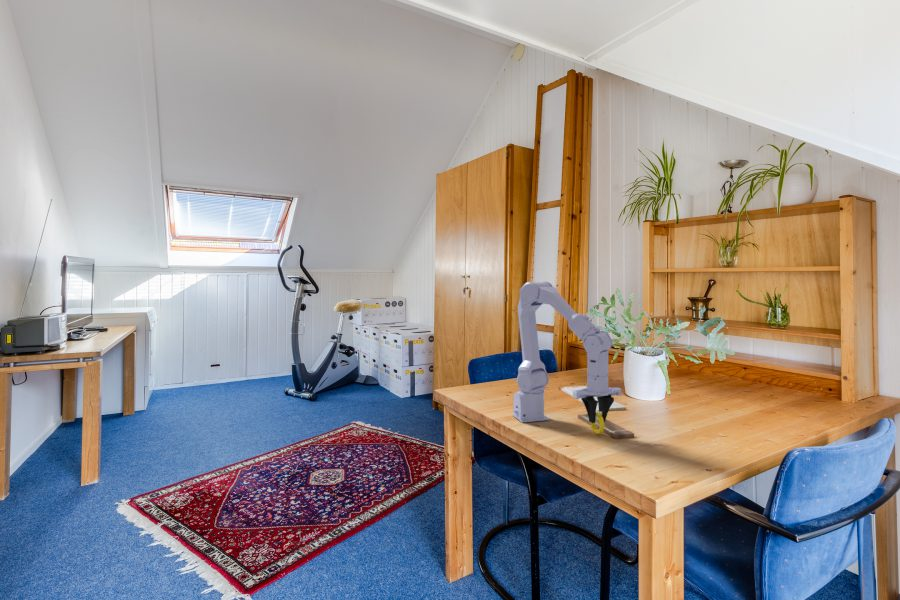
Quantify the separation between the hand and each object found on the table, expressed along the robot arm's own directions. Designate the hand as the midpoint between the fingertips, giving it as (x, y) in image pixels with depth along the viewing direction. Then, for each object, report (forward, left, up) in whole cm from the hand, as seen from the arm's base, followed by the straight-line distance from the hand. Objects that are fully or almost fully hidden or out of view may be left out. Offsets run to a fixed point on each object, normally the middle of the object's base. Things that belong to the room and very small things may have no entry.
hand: (597, 421), depth 130 cm
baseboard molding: (+19, +35, -5) cm, 41 cm away
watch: (0, 0, -3) cm, 3 cm away
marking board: (+6, +5, -4) cm, 9 cm away
